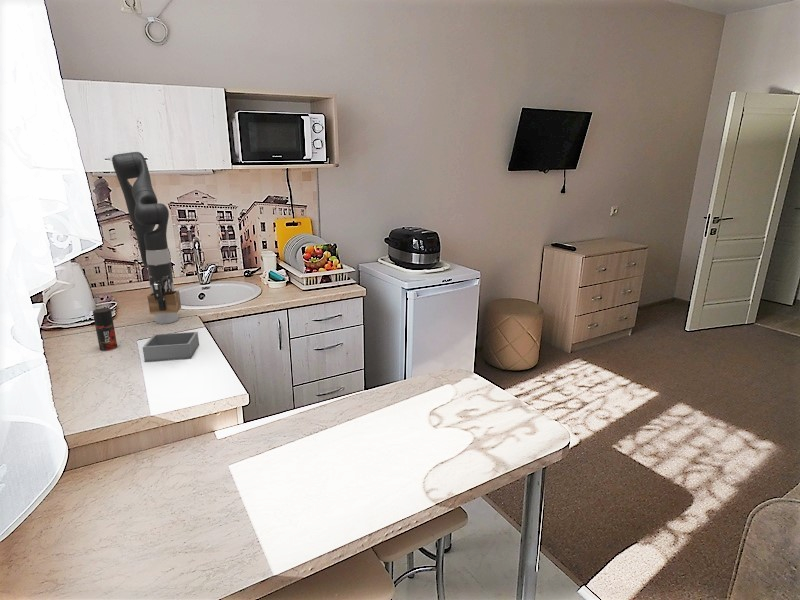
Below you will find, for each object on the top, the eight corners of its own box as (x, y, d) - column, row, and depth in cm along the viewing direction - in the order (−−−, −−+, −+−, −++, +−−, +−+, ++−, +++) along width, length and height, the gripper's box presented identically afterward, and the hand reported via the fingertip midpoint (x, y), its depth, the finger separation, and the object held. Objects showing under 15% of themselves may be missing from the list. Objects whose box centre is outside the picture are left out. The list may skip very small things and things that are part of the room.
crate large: (156, 348, 190) (154, 334, 188) (199, 345, 192) (197, 331, 191) (144, 361, 177) (142, 347, 175) (191, 358, 179) (189, 344, 178)
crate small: (155, 309, 182) (152, 292, 180) (181, 307, 184) (178, 290, 182) (150, 314, 177) (147, 296, 175) (177, 312, 178) (174, 294, 176)
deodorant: (104, 351, 187) (96, 313, 183) (97, 348, 190) (89, 310, 186) (120, 347, 191) (113, 309, 187) (113, 344, 195) (106, 307, 191)
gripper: (153, 258, 181) (160, 303, 186) (140, 266, 168) (148, 314, 172) (175, 257, 183) (181, 301, 187) (164, 265, 169) (171, 313, 173)
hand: (165, 307), depth 180 cm, fingers closed on crate small, 6 cm apart
